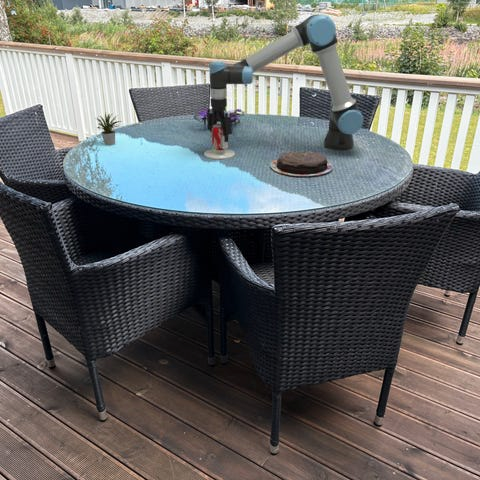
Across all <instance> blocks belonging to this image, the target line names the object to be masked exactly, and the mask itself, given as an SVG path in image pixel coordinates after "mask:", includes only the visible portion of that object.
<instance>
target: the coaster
mask: <svg viewBox="0 0 480 480" xmlns="http://www.w3.org/2000/svg"><path fill="white" fill-rule="evenodd" d="M235 156H236V152H235V151H234V150H232V149H228V148H226V149H225V150H224V151H215V150H214V149H213V148H212V149H209V150H206V151H205V152H204V158H207V159H211V160H227V159H232V158H234V157H235Z"/></svg>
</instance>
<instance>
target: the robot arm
mask: <svg viewBox="0 0 480 480" xmlns="http://www.w3.org/2000/svg"><path fill="white" fill-rule="evenodd" d="M336 30H337V29H336V24H335V22H334V20H333V19H332V18H331V17H330V16H328V15H326V14H323V13H322V14H319V13H318V14H312V15H310V16H309V17H307V18H306V19H304V20H303V21H302V22H300V23H298V24H297V25H296V26H293V29H292V31H290V32H288V33H287V34H285V35H283V36H281V37H280V38H277V39H276V40H274V41H273V42H271V43H270V44H268V45H266V46H264V47H262V48H261V49H259V50H258V51H256V52H254V53H252V54H251V55H249V56H247V57H245V58H244V59H242V60H241V61H237V62H235V63H233V65H232V66H227V62H225V61H212V62H210V63H209V89H210V90H209V93H210V94H209V96H210V101H209V102H210V107H211V108H207V110H206V111H208V125H207V124H206V130H208V131H209V132H210V139H211V140H212V128H213V125H214V124H218V122H217V121H218V119H219V121H220V122H219V124H221V126H222V130H223V135H222V145H223V149H228V147H229V146H228V144H229V143H228V142H229V135H232V134H233V133H232V132H233V131H231V120H230V116H231V113H230V112H229V113H228V112H227V110H226V107H227V106H228V105H227V104H228V101H227V100H228V99H227V96H228V95H227V94H228V92H227V90H228V89H227V87H228V86H227V85H244V86H245V85H246V86H247V85H251V84H252V83H253V80H254V73H256V72H258V71H259V70H261V69H263V68H264V67H266V66H268V65H270V64H271V63H274V62H275V61H277V60H278V59H280V58H282V57H284V56H285V55H287V54H289V53H291V52H293V51H294V50H297V49H298V48H299V47H301V48H304V47H306V46H307V45H309V46H310V48H311V49H310V50H311V51H312V52H311V53H312V54H314V55H316V56H317V59H318V62H319V65H320V67H321V71H322V74H323V76H324V81H325V83H326V85H327V86H326V87H327V89H328V93H329V95H330V98H331V102H330V106H329V108H330V110H329V121H328V130H327V133H326V135H325V137H324V140H323V147H325V148H327V149H331V150H337V151H338V150H339V151H340V150H341V151H342V150H343V151H344V150H345V151H346V150H350V149H353V148H354V145H355V142H354V137H353V135H354V134H356V133H357V132H358V131H360V129H362V127H363V124H364V116H363V114H362V112H360V109H359V105H358V103H357V99H355V98H352V96H351V93H350V88H349V86H348V82H347V79H346V76H345V73H344V70H343V69H344V68H343V66H342V62H341V59H340V57H339V52H338V50H337V45H338V44H339V41H338V38H337V35H336V33H337V32H336ZM222 118H223V119H222ZM231 133H232V134H231Z"/></svg>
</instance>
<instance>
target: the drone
mask: <svg viewBox="0 0 480 480" xmlns="http://www.w3.org/2000/svg"><path fill="white" fill-rule="evenodd" d="M226 112H228V113H229V112H230V113H231V116H230V120H231V131H232V127H233V126H234V127H236V126H237V125H238V124H240V123H241V119H240V118H239V117H242V116H244V115H245V111H244V110H242V109H241V108H240V109H239V108H236V109H234V111H232V110H228V111H227V110H226ZM238 112H239V113H238ZM193 118H194V120H195V121H198V122H201V123H202V122H203V126H204V132H207V125H208V111H207V110H201V111H200V112H197V113H195V114H194V115H193ZM222 119H223V118H222ZM217 123H220V121H219V119H218V121H217ZM232 132H233V131H232ZM232 134H233V133H231V134H230V135H232Z"/></svg>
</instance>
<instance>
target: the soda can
mask: <svg viewBox="0 0 480 480" xmlns="http://www.w3.org/2000/svg"><path fill="white" fill-rule="evenodd" d="M222 135H223V130H222V126H221V123H217V124H214V125H213V128H212V139H211V146H212V149H214V150H215V151H224V150H225V149H223V145H222Z"/></svg>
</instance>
